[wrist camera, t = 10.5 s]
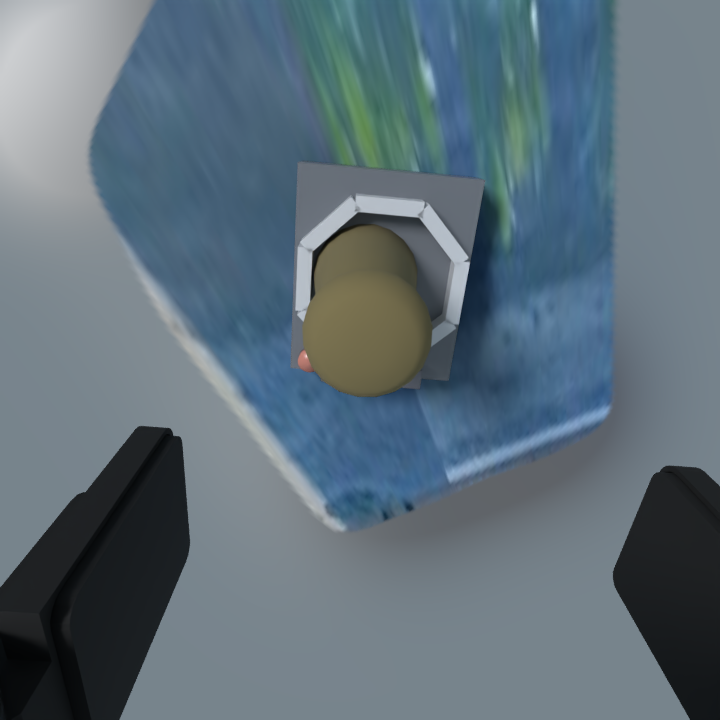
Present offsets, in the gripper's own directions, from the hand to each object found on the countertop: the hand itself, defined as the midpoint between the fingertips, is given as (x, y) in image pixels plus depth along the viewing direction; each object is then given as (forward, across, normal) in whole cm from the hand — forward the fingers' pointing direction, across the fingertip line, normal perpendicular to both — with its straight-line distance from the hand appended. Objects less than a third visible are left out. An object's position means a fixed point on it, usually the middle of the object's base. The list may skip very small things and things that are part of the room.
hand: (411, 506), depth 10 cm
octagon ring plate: (+22, 0, +1) cm, 22 cm away
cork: (+20, +1, 0) cm, 20 cm away
